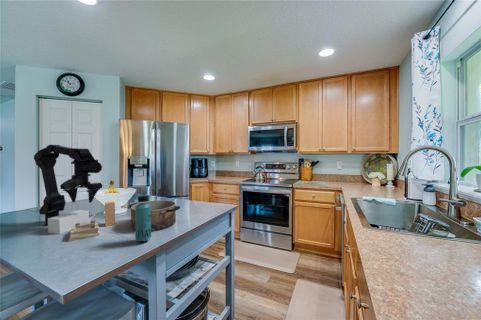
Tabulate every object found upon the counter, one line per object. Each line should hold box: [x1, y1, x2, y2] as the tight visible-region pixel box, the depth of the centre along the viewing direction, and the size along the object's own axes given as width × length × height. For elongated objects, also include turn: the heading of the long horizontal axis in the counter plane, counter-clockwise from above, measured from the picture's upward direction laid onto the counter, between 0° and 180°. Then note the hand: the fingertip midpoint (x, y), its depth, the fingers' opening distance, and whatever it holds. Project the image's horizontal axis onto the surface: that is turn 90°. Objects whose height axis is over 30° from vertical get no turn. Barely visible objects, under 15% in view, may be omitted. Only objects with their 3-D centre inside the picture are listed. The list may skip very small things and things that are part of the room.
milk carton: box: [47, 209, 95, 235], centre depth 105 cm, size 7×7×19 cm
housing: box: [68, 220, 100, 242], centre depth 96 cm, size 14×11×4 cm
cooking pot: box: [128, 199, 181, 232], centre depth 109 cm, size 30×22×11 cm
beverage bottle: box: [134, 195, 153, 242], centre depth 88 cm, size 6×7×20 cm
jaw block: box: [104, 201, 116, 227], centre depth 108 cm, size 4×4×12 cm
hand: (82, 202), depth 105 cm, fingers open, 9 cm apart
